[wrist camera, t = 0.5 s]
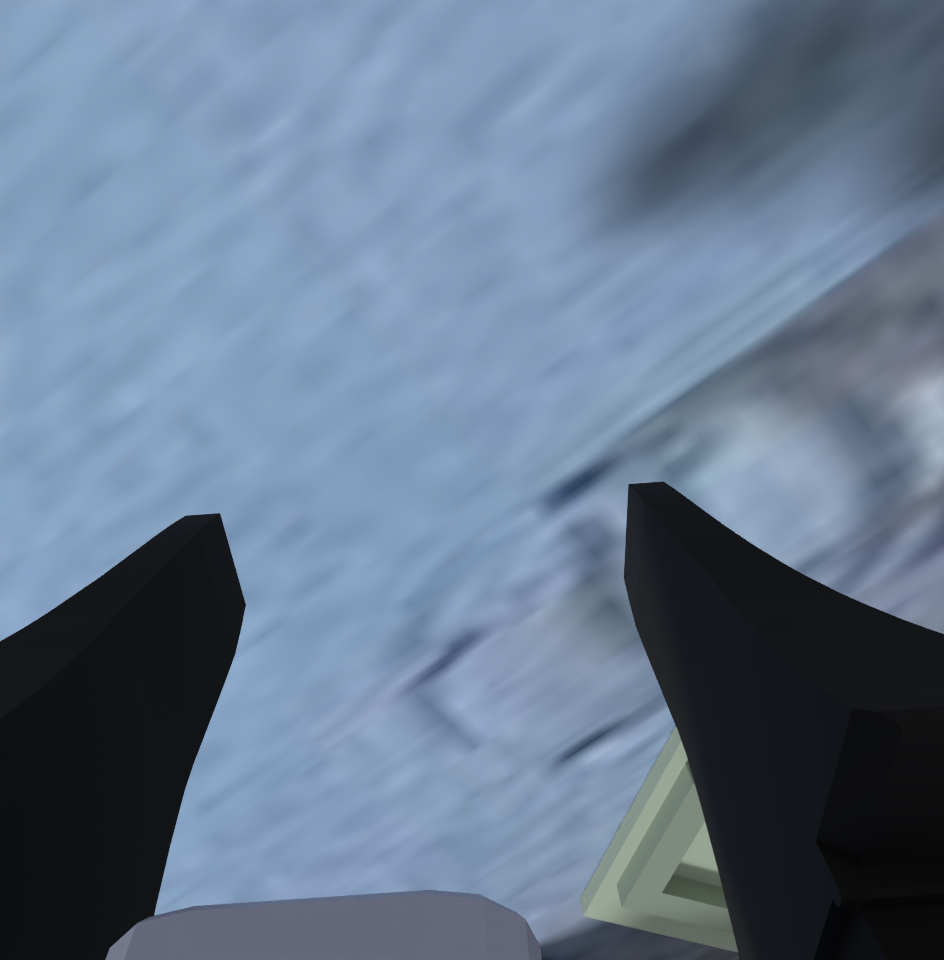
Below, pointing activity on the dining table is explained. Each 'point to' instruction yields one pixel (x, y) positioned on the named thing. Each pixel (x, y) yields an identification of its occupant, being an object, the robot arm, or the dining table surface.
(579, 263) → the dining table surface
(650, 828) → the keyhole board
